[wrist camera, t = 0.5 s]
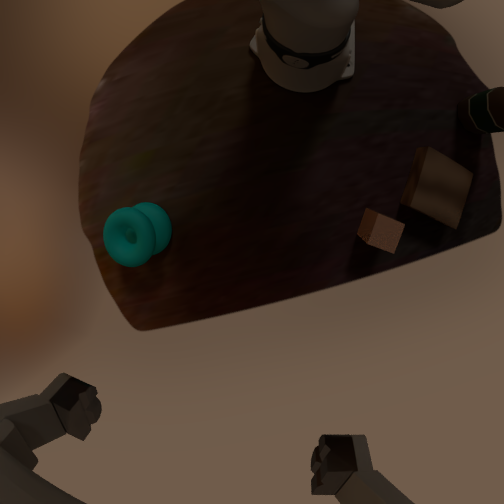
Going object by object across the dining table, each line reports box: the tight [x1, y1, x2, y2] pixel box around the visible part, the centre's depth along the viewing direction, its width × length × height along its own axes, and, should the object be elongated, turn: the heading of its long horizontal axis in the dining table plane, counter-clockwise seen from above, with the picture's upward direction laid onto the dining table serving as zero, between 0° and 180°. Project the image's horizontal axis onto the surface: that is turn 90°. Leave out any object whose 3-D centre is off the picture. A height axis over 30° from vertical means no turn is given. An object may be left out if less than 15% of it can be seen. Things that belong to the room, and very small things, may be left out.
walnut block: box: [400, 146, 473, 229], centre depth 43 cm, size 11×11×5 cm
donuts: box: [103, 202, 172, 267], centre depth 48 cm, size 10×10×10 cm
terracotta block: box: [357, 208, 405, 253], centre depth 45 cm, size 5×5×7 cm
